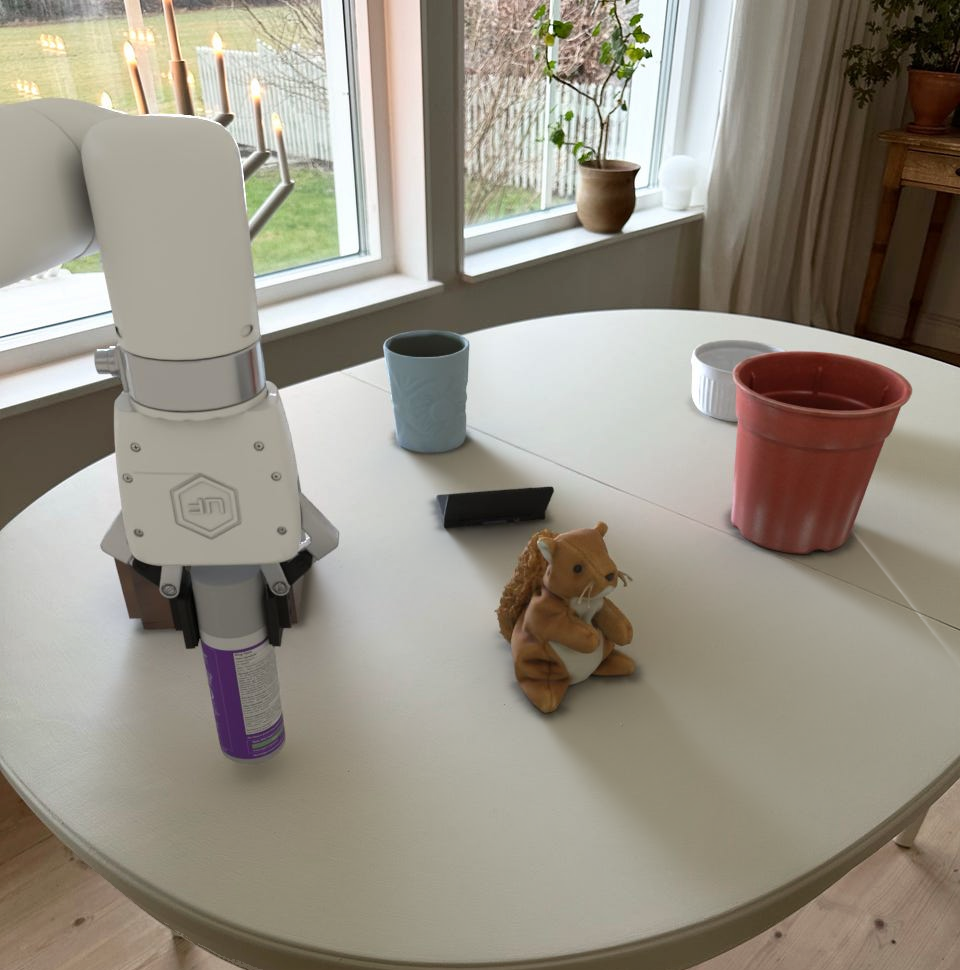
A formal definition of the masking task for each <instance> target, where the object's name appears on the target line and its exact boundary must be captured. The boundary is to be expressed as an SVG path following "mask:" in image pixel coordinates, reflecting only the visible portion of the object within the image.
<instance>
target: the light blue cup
mask: <svg viewBox="0 0 960 970" xmlns="http://www.w3.org/2000/svg"><path fill="white" fill-rule="evenodd" d="M382 349H383V355H384V360H385V367H386V373H387V377H388V381H389V390H390V396H391V397H390V398H391V400H390V401H391V404H392V407H393V408H392V411H393V421H394V430H395V437H396V441H397V443H398V445H399V446H400V447H401V448H403V449H405V450H409V451H412V452H416V453H425V454H434V453H435V454H436V453H445V452H449V451H452V450H455V449H457V448H459V447H460V446H462V445H463V444H464V442H465V440H466V437H467V436H466V435H467V413H466V410H467V401H468V393H467V387H468V383H469V363H470V362H469V361H470V341H469V340H468V339H467V338H466V337H464V336H463V335H461V334H459V333H456V332H453V331H447V330H438V329H437V330H436V329H424V330H423V329H422V330H413V331H407V332H406V331H405V332H402V333H397V334H395V335H393V336H390V337H389V338H387V339H386V340H385V341H384V342H383V348H382Z"/></svg>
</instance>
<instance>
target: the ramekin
mask: <svg viewBox="0 0 960 970" xmlns="http://www.w3.org/2000/svg"><path fill="white" fill-rule="evenodd" d="M783 351H787V350H785V349H784V348H781V347H779V346H775V345H772V344H769V343H765V342H759V341H755V340H754V341H753V340H747V339H721V340H720V339H718V340H712V341H708V342H705V343H701V344H699V345H698V346H696V347H695V348H694V350H693V352H692V356H691V365H692V377H691V397H692V401H693V402H694V404H695V406H696V407H697V409H698V410H699V411H700V412H701V413H703V414H705V415H706V416H709V417H711V418H714V419H716V420H720V421H725V422H731V423H738V418H737V416H736V412H735V409H736V393H737V386H736V385H735V383H734V380H733V370H734V368H735V367H736V365H737V364H739V363H740V362H741V361H743V360H745V359H747V358H750V357H753V356H757V355H761V354H767V353H773V352H783Z"/></svg>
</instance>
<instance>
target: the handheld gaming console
mask: <svg viewBox="0 0 960 970" xmlns="http://www.w3.org/2000/svg"><path fill="white" fill-rule="evenodd" d="M554 493H555V489H554V487H553V486H536V487H522V488H521V487H520V488H507V489H495V490H494V489H493V490H481V491H467V492H457V493H455V492H454V493H443V494H437V495H436V504H437V507H438V511H439V515H440V518H441V521H442V524H443V528H444V529H451V528H459V527H460V528H461V527H462V528H463V527H473V526H483V525H489V524H499V523H506V524H507V523H519V522H531V521H532V522H533V521H543V520H545V519H546V511H547V509H548V507H549V504H550V502H551V499H552V497H553V495H554Z"/></svg>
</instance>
